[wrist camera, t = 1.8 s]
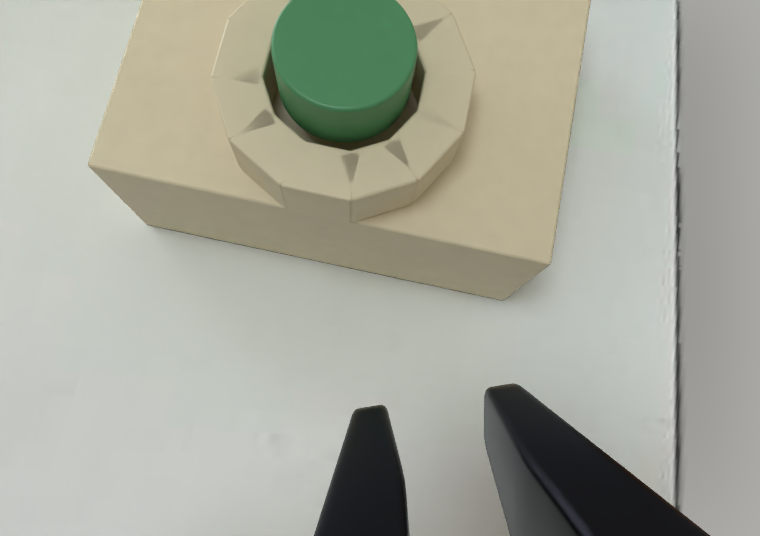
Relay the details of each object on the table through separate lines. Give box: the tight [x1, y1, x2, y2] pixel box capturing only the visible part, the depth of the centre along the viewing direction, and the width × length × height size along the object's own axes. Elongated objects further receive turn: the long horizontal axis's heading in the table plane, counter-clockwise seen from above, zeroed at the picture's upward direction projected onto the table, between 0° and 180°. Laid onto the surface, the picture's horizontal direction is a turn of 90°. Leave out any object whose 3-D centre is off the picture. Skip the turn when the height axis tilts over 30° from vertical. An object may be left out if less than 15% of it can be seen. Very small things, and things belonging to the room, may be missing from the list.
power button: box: [271, 0, 418, 143], centre depth 15 cm, size 3×3×2 cm
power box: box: [88, 0, 591, 300], centre depth 20 cm, size 10×12×7 cm
